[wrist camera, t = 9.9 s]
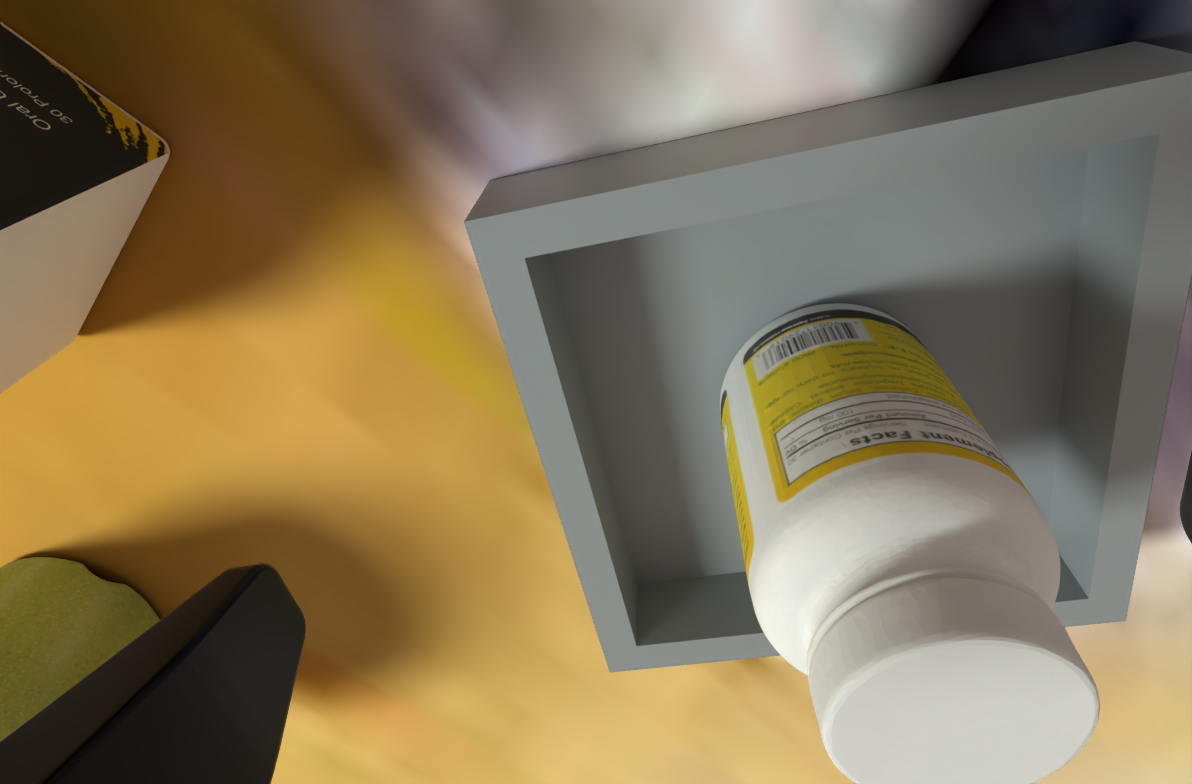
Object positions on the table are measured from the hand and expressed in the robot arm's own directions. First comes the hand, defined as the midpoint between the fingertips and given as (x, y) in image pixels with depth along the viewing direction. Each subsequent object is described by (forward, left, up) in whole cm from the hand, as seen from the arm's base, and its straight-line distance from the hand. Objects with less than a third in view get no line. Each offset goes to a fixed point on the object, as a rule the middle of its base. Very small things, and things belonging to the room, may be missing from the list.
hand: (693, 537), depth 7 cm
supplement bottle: (+6, +3, -12) cm, 13 cm away
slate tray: (+6, +3, -12) cm, 14 cm away
